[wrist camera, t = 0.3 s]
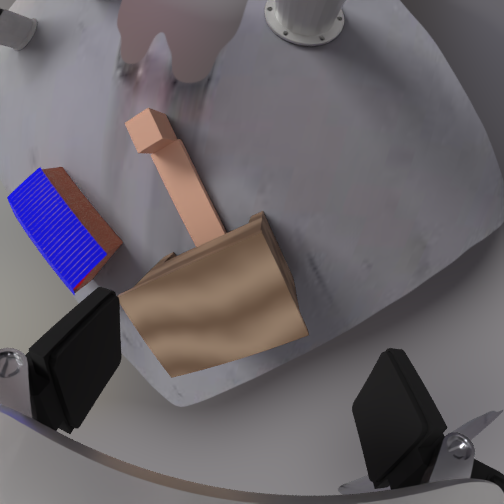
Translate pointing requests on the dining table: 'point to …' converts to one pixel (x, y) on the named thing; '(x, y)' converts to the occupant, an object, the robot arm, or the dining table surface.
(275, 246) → the cabinet
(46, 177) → the house
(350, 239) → the dining table surface
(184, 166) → the tan stepped beam
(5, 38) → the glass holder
